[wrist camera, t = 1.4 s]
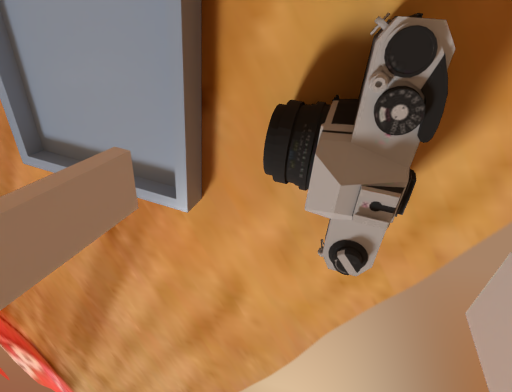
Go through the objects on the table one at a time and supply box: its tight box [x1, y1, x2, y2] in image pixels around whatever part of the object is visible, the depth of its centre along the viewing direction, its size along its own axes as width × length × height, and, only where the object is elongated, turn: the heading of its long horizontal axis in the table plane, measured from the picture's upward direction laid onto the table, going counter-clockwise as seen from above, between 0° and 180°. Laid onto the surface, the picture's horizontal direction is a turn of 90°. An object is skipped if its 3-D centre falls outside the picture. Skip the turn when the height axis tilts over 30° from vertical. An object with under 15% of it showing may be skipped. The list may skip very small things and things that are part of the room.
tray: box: [0, 0, 202, 212], centre depth 22 cm, size 18×18×2 cm
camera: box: [263, 13, 455, 276], centre depth 16 cm, size 13×8×9 cm, turn 0°
